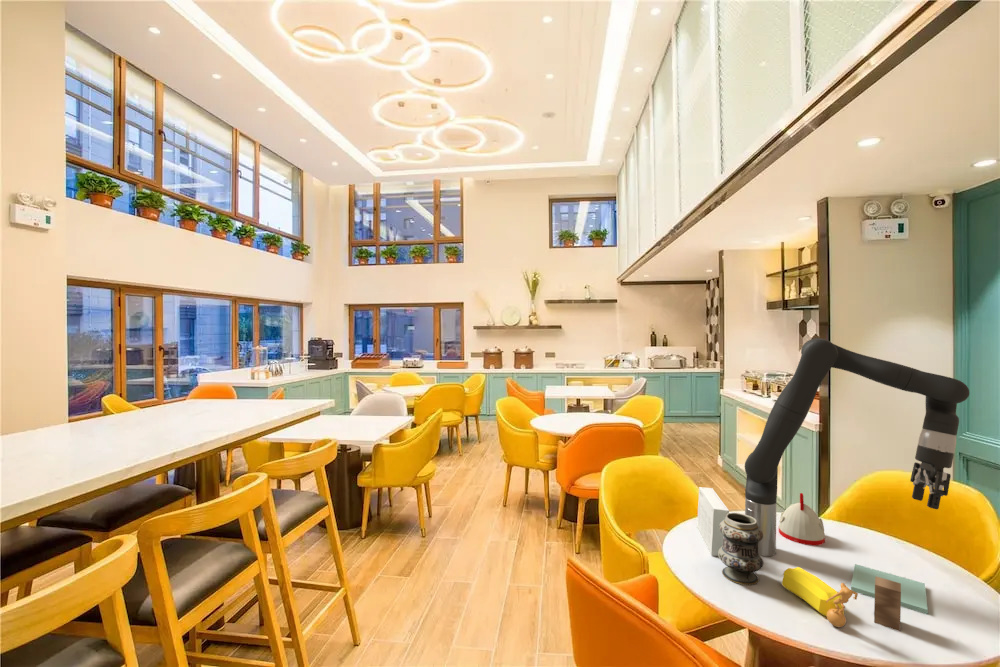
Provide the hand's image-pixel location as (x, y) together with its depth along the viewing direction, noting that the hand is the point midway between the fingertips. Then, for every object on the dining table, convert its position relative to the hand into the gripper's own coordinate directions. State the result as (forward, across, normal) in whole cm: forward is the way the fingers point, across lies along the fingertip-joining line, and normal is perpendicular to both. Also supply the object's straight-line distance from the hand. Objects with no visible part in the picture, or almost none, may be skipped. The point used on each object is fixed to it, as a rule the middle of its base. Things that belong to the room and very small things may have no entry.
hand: (924, 503), depth 127 cm
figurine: (+33, +23, -21) cm, 45 cm away
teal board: (+27, -2, -3) cm, 27 cm away
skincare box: (+34, -14, -48) cm, 61 cm away
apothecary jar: (+35, +6, -42) cm, 55 cm away
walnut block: (+30, +16, -9) cm, 35 cm away
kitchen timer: (+27, -31, -18) cm, 45 cm away
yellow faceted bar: (+33, +12, -25) cm, 43 cm away
